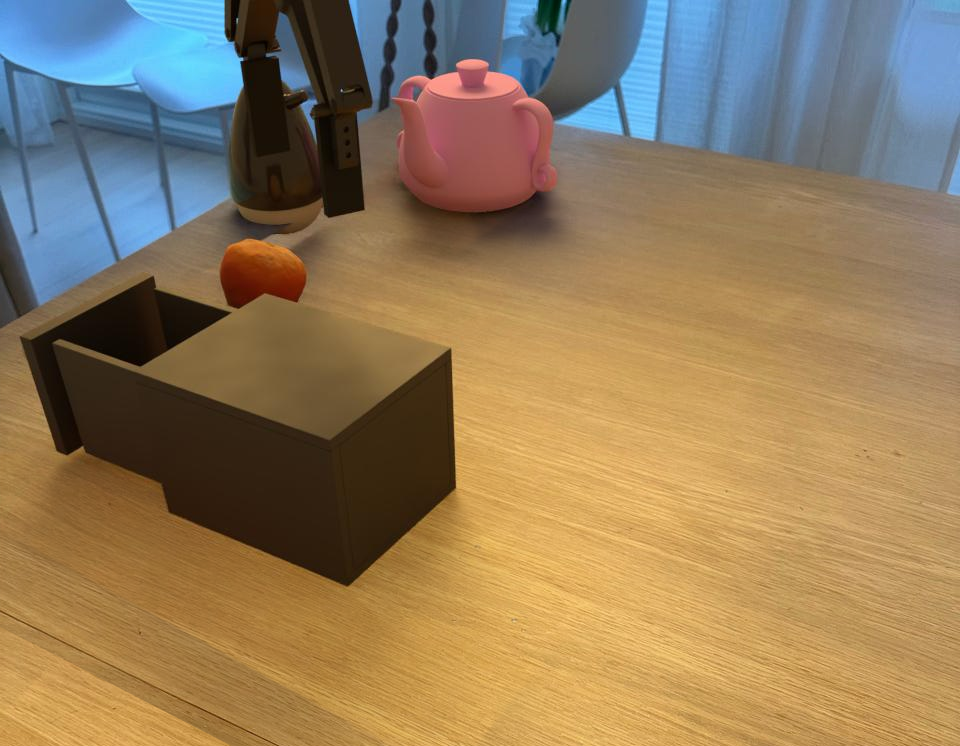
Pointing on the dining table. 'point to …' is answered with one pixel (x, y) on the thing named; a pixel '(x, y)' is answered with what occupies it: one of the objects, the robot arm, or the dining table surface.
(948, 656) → the dining table surface
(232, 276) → the fruit
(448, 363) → the cabinet
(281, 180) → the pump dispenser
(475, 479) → the dining table surface
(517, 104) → the teapot
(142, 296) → the drawer
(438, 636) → the dining table surface
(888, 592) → the dining table surface
